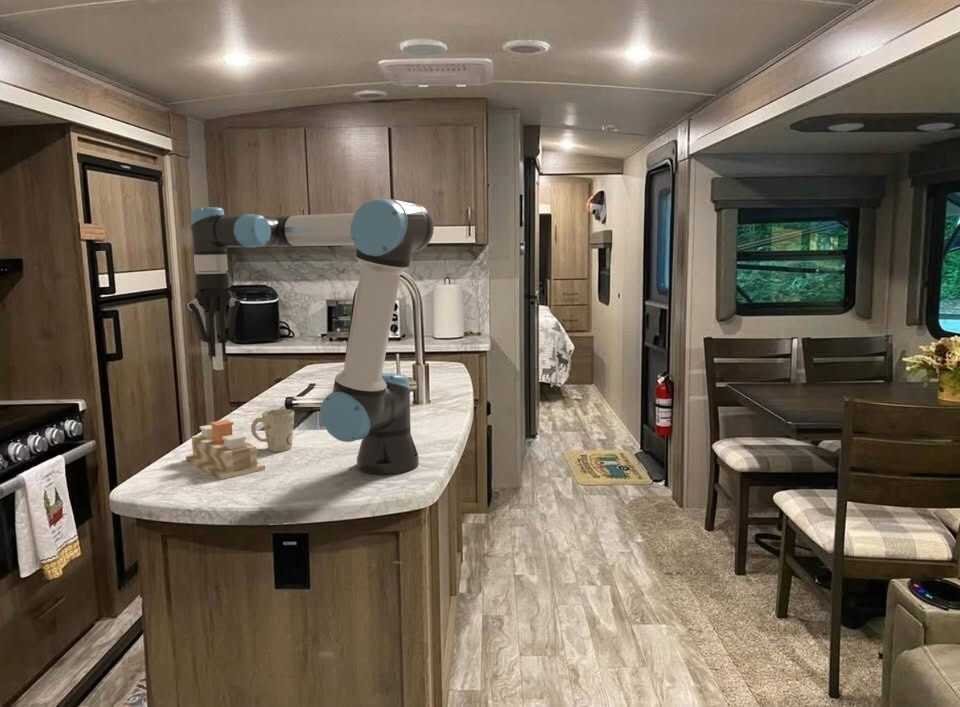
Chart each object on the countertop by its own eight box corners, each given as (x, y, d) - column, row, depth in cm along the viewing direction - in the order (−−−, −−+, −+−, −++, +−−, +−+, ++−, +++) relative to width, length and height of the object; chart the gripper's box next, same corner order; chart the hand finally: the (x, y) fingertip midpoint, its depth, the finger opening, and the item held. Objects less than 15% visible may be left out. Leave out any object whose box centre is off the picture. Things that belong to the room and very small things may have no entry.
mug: (287, 453, 195) (285, 416, 194) (243, 451, 198) (241, 415, 196) (301, 445, 203) (299, 409, 202) (259, 443, 206) (256, 408, 204)
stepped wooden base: (264, 469, 182) (263, 445, 181) (221, 479, 174) (219, 454, 174) (227, 451, 198) (225, 429, 197) (185, 460, 191) (184, 437, 190)
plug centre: (235, 451, 186) (233, 422, 184) (218, 454, 183) (216, 425, 182) (228, 448, 189) (226, 419, 188) (211, 451, 186) (209, 422, 185)
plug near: (248, 466, 181) (246, 436, 180) (231, 470, 178) (229, 440, 177) (240, 462, 184) (238, 433, 183) (224, 466, 181) (222, 436, 180)
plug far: (224, 454, 191) (222, 426, 190) (208, 458, 188) (206, 429, 187) (217, 451, 194) (215, 423, 193) (201, 454, 191) (199, 426, 190)
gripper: (231, 271, 186) (237, 364, 190) (178, 273, 177) (185, 370, 181) (244, 271, 181) (250, 367, 184) (190, 274, 172) (197, 374, 175)
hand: (218, 369), depth 183 cm, fingers closed
